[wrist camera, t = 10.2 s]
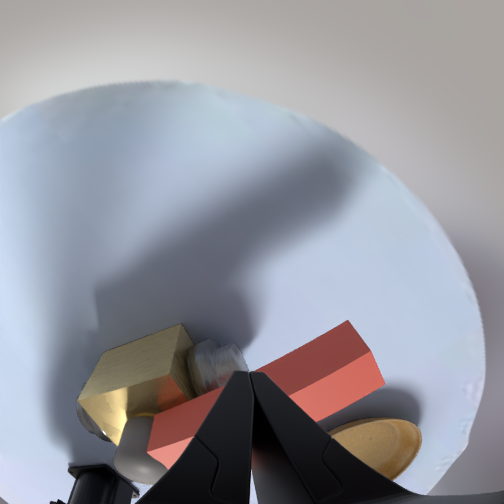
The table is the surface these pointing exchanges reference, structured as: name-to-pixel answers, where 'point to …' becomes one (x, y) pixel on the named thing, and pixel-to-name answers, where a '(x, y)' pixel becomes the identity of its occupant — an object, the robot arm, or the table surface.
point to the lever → (283, 374)
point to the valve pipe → (152, 379)
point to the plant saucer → (381, 443)
